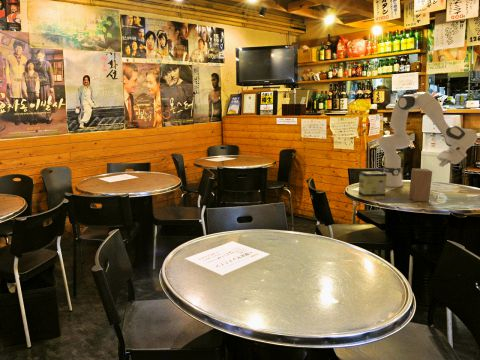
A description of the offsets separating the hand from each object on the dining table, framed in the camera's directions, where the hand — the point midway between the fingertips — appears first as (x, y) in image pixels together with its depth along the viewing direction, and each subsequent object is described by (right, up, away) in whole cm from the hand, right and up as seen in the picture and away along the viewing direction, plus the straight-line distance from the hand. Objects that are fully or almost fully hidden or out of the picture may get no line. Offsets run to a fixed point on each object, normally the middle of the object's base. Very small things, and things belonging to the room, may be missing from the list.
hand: (440, 165), depth 275 cm
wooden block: (-13, -22, +3) cm, 26 cm away
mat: (-29, -22, +1) cm, 37 cm away
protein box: (-39, -19, +19) cm, 47 cm away
